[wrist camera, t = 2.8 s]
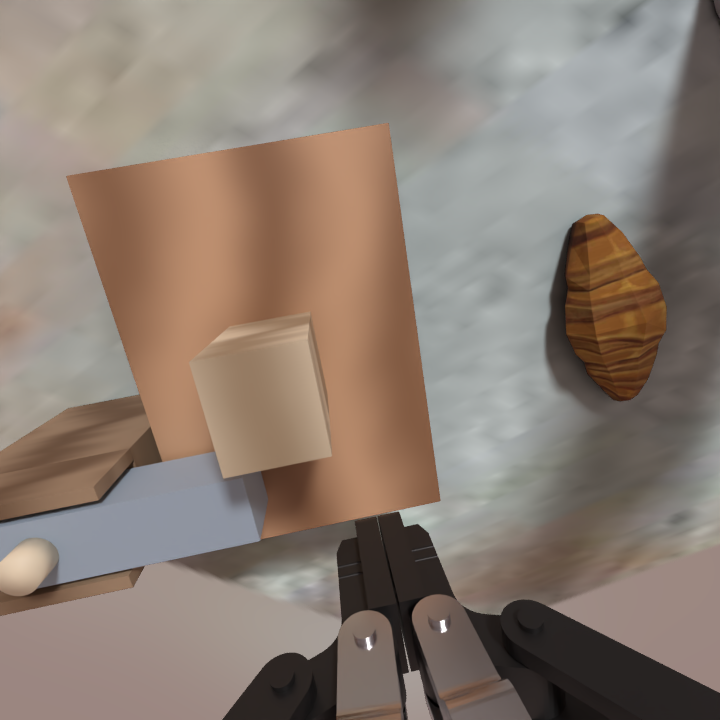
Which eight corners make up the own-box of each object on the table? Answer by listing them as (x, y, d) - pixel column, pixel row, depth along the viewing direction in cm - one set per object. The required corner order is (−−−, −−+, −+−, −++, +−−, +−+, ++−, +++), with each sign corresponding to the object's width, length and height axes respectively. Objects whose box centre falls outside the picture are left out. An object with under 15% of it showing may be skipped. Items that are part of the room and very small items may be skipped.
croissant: (526, 235, 28) (569, 232, 23) (620, 198, 28) (684, 188, 23) (568, 409, 32) (613, 438, 27) (651, 377, 32) (711, 400, 27)
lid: (384, 129, 18) (426, 56, 11) (435, 490, 23) (485, 593, 16) (80, 180, 17) (-74, 135, 10) (198, 540, 22) (146, 669, 15)
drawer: (253, 443, 19) (236, 495, 15) (268, 499, 20) (256, 561, 16) (33, 488, 19) (-45, 553, 15) (57, 543, 20) (-10, 619, 16)
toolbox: (365, 163, 25) (408, 88, 14) (406, 430, 30) (465, 547, 18) (-4, 226, 24) (-312, 204, 12) (100, 492, 29) (-50, 660, 17)
